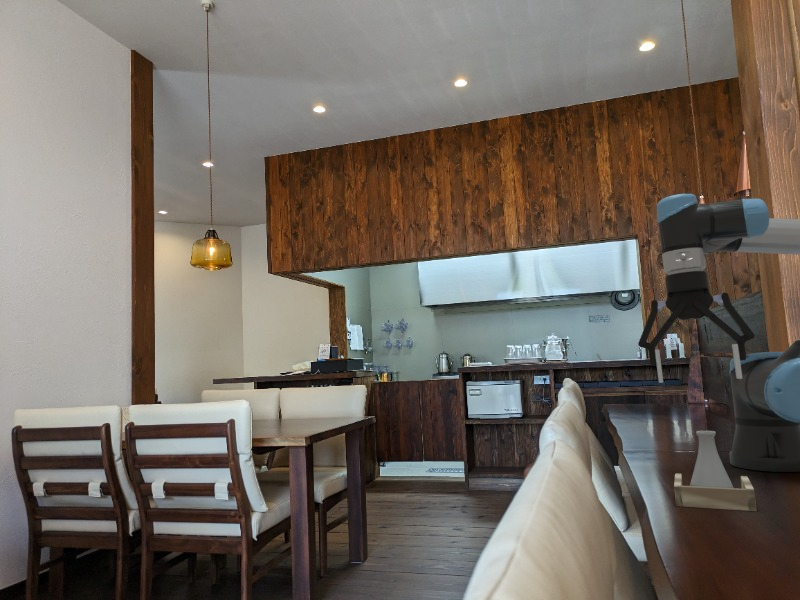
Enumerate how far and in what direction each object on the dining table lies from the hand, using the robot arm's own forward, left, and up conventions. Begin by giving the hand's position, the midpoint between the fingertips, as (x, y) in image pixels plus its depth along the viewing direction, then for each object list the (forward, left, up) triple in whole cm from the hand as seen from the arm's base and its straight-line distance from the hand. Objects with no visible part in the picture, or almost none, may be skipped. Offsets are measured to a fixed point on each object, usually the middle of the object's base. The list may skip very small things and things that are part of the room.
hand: (699, 380), depth 112 cm
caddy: (+11, +13, -19) cm, 25 cm away
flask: (+6, +7, -19) cm, 21 cm away
